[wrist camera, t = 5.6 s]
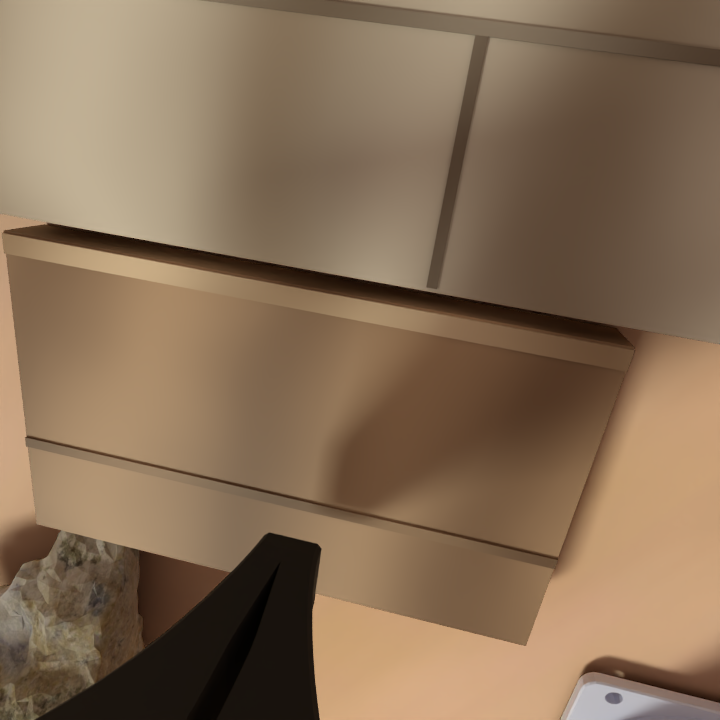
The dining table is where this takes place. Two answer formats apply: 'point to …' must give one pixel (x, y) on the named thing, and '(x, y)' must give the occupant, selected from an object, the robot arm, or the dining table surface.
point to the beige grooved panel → (388, 142)
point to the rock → (67, 623)
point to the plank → (308, 422)
